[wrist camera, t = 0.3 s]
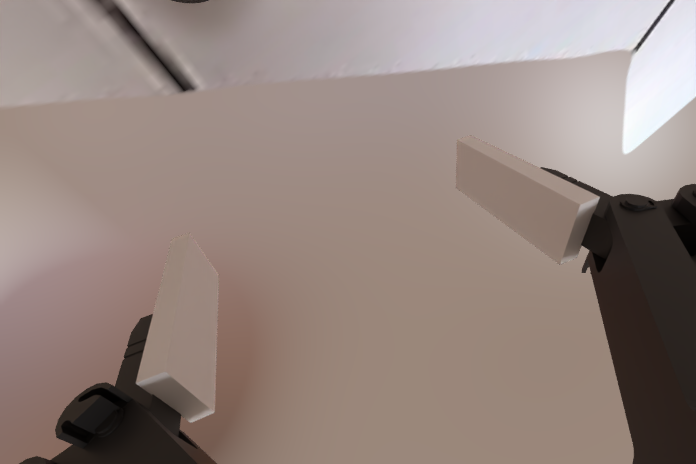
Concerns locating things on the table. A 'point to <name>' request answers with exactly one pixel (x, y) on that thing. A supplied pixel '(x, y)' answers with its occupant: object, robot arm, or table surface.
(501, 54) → the table surface
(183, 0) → the coffee cup
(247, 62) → the table surface
